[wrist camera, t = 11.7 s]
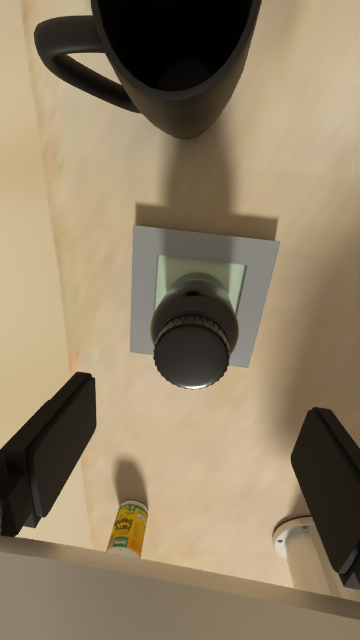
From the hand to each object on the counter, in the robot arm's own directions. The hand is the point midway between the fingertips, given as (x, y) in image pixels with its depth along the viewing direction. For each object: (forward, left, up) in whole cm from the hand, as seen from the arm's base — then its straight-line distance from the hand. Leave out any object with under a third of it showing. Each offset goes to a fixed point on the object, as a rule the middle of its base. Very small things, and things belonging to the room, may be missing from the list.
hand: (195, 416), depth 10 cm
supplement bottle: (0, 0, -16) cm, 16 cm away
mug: (+5, -17, -17) cm, 25 cm away
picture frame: (0, 0, -17) cm, 17 cm away
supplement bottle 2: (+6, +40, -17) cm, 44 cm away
